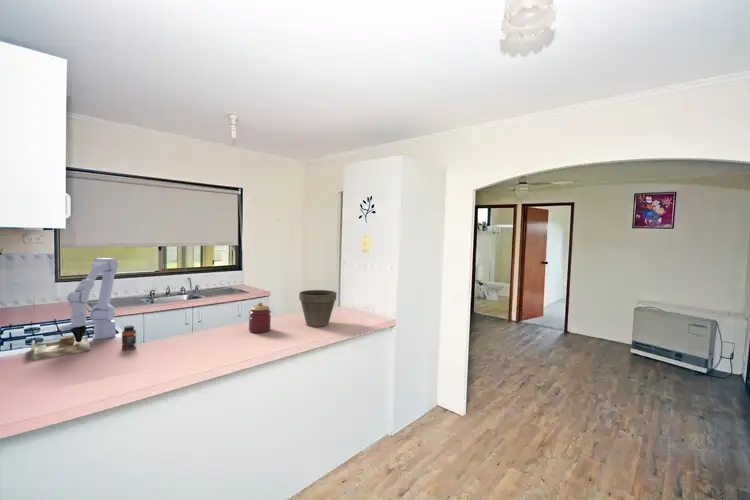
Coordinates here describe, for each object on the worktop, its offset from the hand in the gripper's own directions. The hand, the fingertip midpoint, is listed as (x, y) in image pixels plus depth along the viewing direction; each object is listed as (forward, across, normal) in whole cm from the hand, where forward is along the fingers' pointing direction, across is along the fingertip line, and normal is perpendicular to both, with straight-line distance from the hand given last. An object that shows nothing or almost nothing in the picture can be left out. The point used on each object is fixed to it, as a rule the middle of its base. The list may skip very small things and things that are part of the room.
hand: (78, 341), depth 179 cm
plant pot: (+3, -101, +76) cm, 126 cm away
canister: (+3, -70, +54) cm, 88 cm away
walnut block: (+1, +4, -2) cm, 5 cm away
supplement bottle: (+3, -12, +22) cm, 25 cm away
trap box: (+3, +6, -2) cm, 7 cm away
